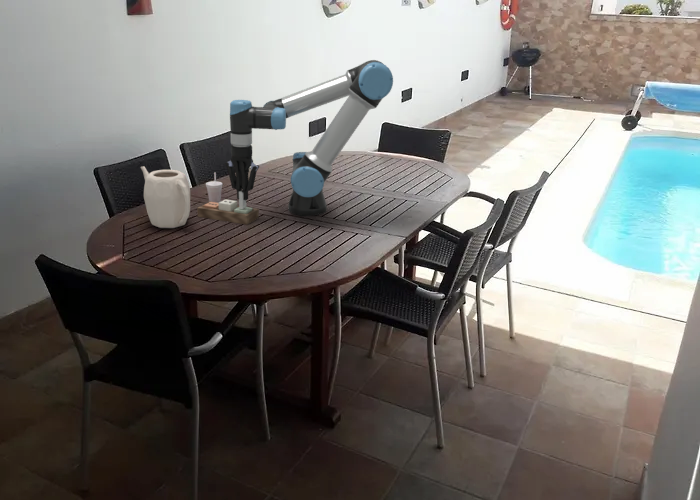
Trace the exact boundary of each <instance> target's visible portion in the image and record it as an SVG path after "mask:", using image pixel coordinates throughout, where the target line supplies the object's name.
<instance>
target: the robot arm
mask: <svg viewBox="0 0 700 500" xmlns="http://www.w3.org/2000/svg"><path fill="white" fill-rule="evenodd" d="M393 84H394V76H393V73H392V71H391V68H389V67H388V66H387V65H386V64H385V63H383V62H382V61H379V60H375V59H372V60H367V61H365V62H363V63H361V64H358V66H355V67H353V68H350V69H348V70H346V71H345V74H343V75H339V76H338V77H334V78H332V79H329V80H326V81H324V82H321V83H319V84H316V85H313V86H310V87H307V88H305V89H302V90H299V91H297V92H294V93H291V94H288V95H285V96H283V97H281V98H278V99H275V100H270V101H268V102H266V103H265V104H263V106H253V103H252V101H251V100H248V99H234V100H232V101H231V102H230V103H229V123H230V125H229V126H230V144H231V146H230V155H231V157H230V160H229V161H227V162H225V163H224V165H225V167H226V169H227V172H228V176H229V180H230V184H231V188H232V190H234V189H235V190H236V198H237V200H238V206H239V209H244V208H246V207H247V200H248V199H249V191H252V190H253V189H254V185H255V182H256V180H255V179H256V175H257V171H258V170H259V168H260V165H259V164H255V163H254V160H253V146H252V144H253V129H254V130H255V129H257V130H261V129H262V130H275V131H277V130H285V129H286V127H287V125H286V124H287V119H288V118H290V117H294V116H297V115H299V114H302V113H305V112H308V111H310V110H313V109H316V108H318V107H322V106H324V105H327V104H329V103H332V102H334V101H338V100H340V99H343V98H346V97H347V98H346V100H345V101H344V103H343V104H342V106H341V107H340V109H339V110H338V111H337V113H336V114H335V116H334V118H333V119H332V121H331V122H330V123H329V125H328V126H327V128H326V130H325V131H324V133H323V134H322V136H321V137H320V139H319V140H318V141H317V143H316V145H315V146H314V148H313V149H312V150H311V151H298V152H294V153H293V155H292V170H291V171H292V172H291V176H290V184H291V188H292V193H291V195H290V199H289V202H288V205H287V207H288V212H289V213H292V214H294V215H298V216H305V217H306V216H307V217H308V216H311V215H313V216H320V215H322V214H325V213H326V212H327V211H326V210H327V209H328V208H327V205H328V204H327V201H326V199H325V194H324V192H323V191H324V190H323V188H324V185H325V182H326V181H327V179H328V178H329V176H330V175H331V174H332V172H333V167H332V166H333V164H334V162H335V161H336V159H337V158H338V156H339V155H340V153H341V152H342V150H343V148H345V146H346V145H347V143H348V142H349V140H350V138H351V137H352V136H353V134H354V133H355V131H356V130H357V129H358V127H359V125H360V124H361V123H362V121H363V120H364V118H365V117H366V115H367V114H368V112H369V111H370V110H373V109H377V107H378V106H379V104H380V103H381V101H382V100H383V99H384V98H385V97H387V96H388V95H389V94H390V93H391V91H392V89H393ZM319 214H320V215H319ZM311 217H312V216H311Z"/></svg>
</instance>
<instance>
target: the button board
mask: <svg viewBox="0 0 700 500" xmlns="http://www.w3.org/2000/svg"><path fill="white" fill-rule="evenodd" d="M210 202H211V201H210ZM207 203H209V201H208V202H206V203H205V204H207ZM216 203H217V202H216ZM205 204H202V205H200V206H198V207H197V208H196V211H197V213H196V214H197V217H198V218H205V219H210V220H216V221H222V222H226V223H227V222H228V223H234V224H240V225H244V226H245V225H246V226H249V224H251V223H252V222H253V223H254V222H255V221H256V220H258V219H259V218H260V211H259V210H260V209H259V208H255V207H252V208H253V211H251V212H249V213H248V214H243V213H236V212H234V210H233V211H231V212H230V211H224V210H219V208H217V209H211V208H205V207H204V205H205ZM238 207H239V205H237V208H238Z"/></svg>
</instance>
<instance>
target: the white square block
mask: <svg viewBox="0 0 700 500" xmlns="http://www.w3.org/2000/svg"><path fill="white" fill-rule="evenodd" d="M218 205H219V210H224V211H230V212H231V211H233V210H234V209H236V208H237V206H238V200H234V199H233V200H232V199H227V198H226V199H223V200H221V201H220V202H219V203H218Z"/></svg>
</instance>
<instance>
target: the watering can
mask: <svg viewBox="0 0 700 500" xmlns="http://www.w3.org/2000/svg"><path fill="white" fill-rule="evenodd" d="M140 169H141V172H142V173H143V177H144V186H143V199H144V203H145V208H146V211H147V215H148V219H149V221H150V223H151V225H152V226H155V227H158V228H159V229H175V228H178V227H182V226H185V225H186V223H187V221H188V218H189V216H190V212H191V188H190V183H189V180H188V178H187V175H186V174H185V173H184V172H182V171H180V170H176V169H159V170H153V171H151V172H149V171H148V170H147V168H146V167H145V166H140Z"/></svg>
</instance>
